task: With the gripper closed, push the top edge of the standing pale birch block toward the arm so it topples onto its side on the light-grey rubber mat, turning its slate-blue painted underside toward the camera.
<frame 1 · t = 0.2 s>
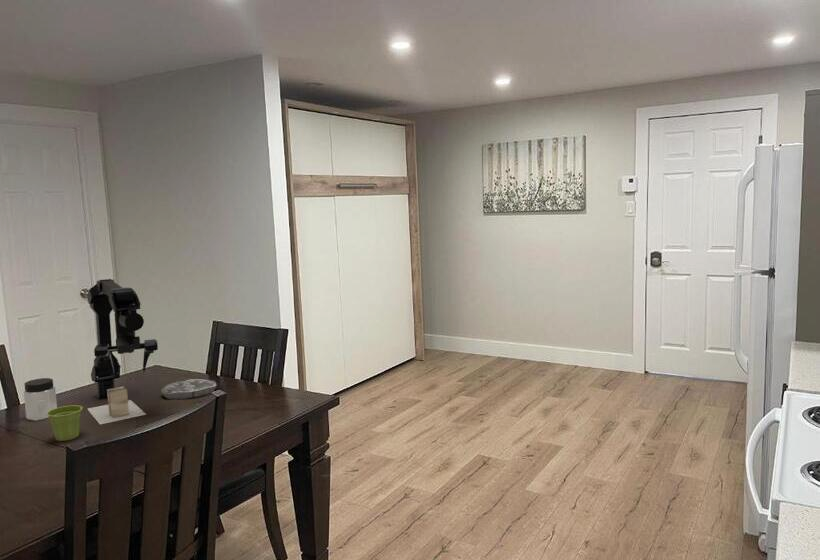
hand: (128, 373, 201), 14 cm above the table, fingers open, 9 cm apart
plant pot: (67, 438, 183), on the table
birch block: (119, 414, 202), resting on grey mat
brain slice: (188, 394, 226), on the table
jar: (42, 416, 203), on the table
grey mat: (116, 412, 205), on the table
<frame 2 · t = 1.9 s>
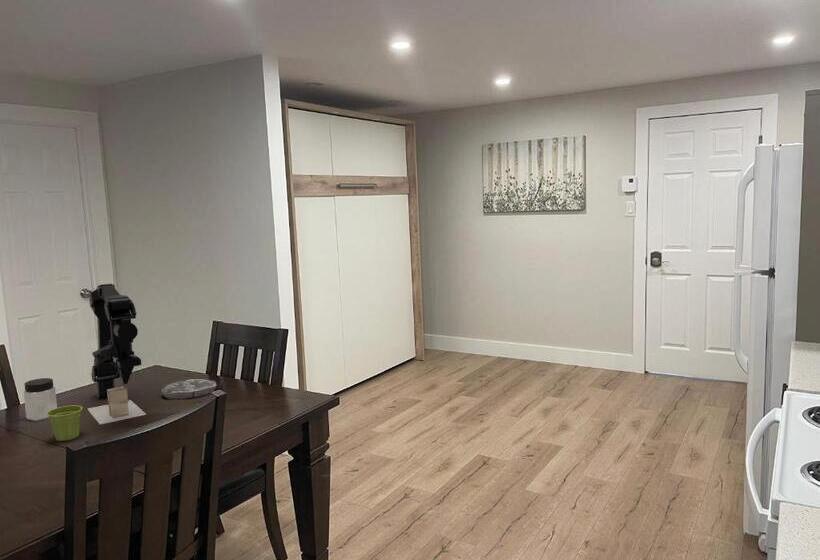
hand: (125, 383, 196), 12 cm above the table, fingers closed
nothing on the table moved.
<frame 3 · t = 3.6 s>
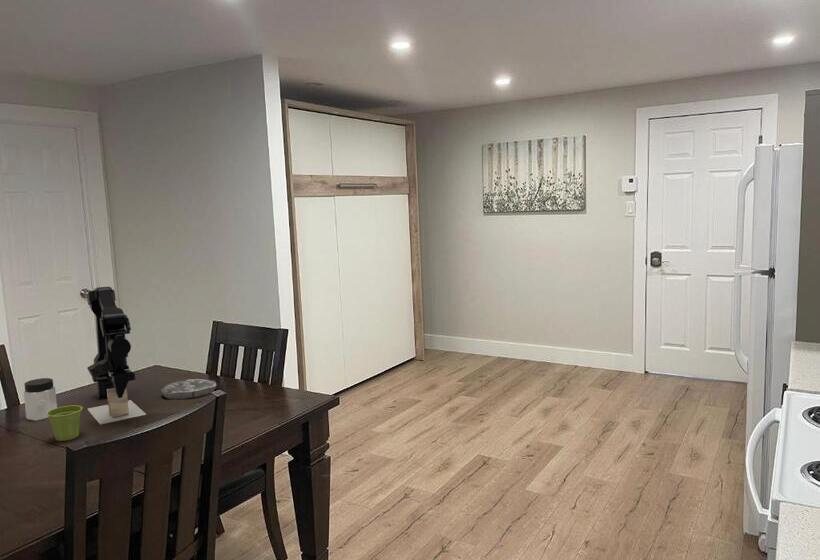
hand: (120, 397, 199), 7 cm above the table, fingers closed
birch block: (119, 414, 202), point 1 cm above the table, touching grey mat, gripper
everything else where it was.
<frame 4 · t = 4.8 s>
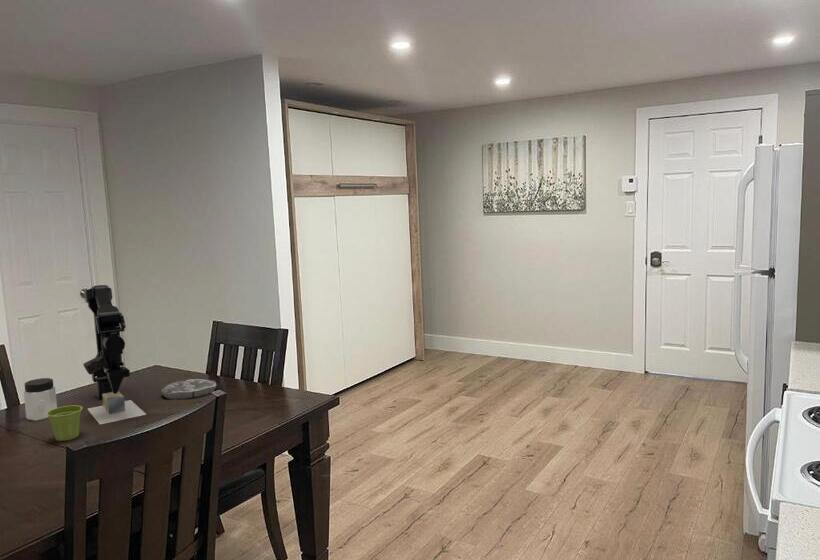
hand: (115, 393, 204), 7 cm above the table, fingers closed
birch block: (116, 405, 204), point 3 cm above the table, tilted 90°, touching grey mat
everything else where it was.
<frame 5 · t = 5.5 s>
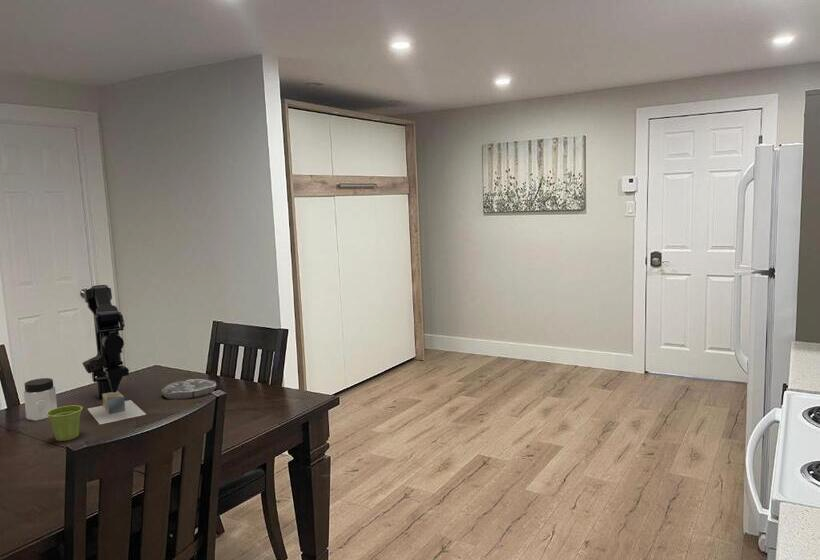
hand: (114, 392, 205), 7 cm above the table, fingers closed
nothing on the table moved.
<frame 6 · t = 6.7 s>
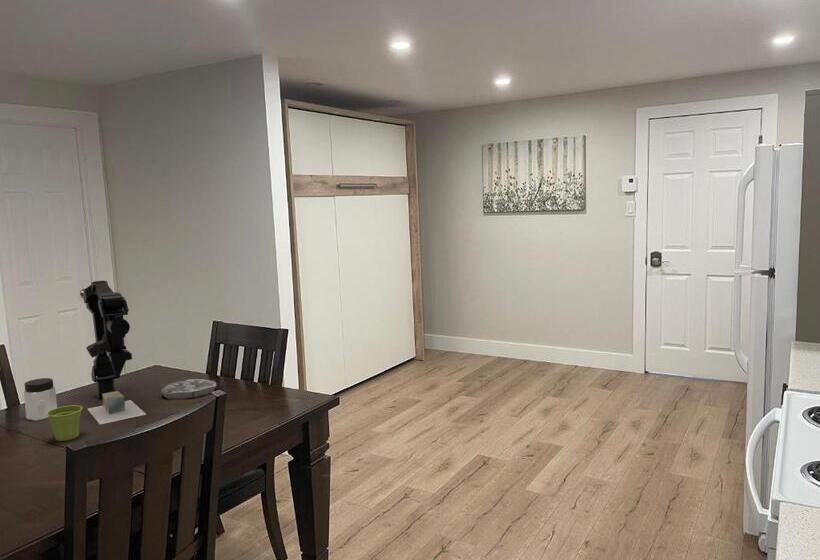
hand: (117, 376, 206), 12 cm above the table, fingers closed
nothing on the table moved.
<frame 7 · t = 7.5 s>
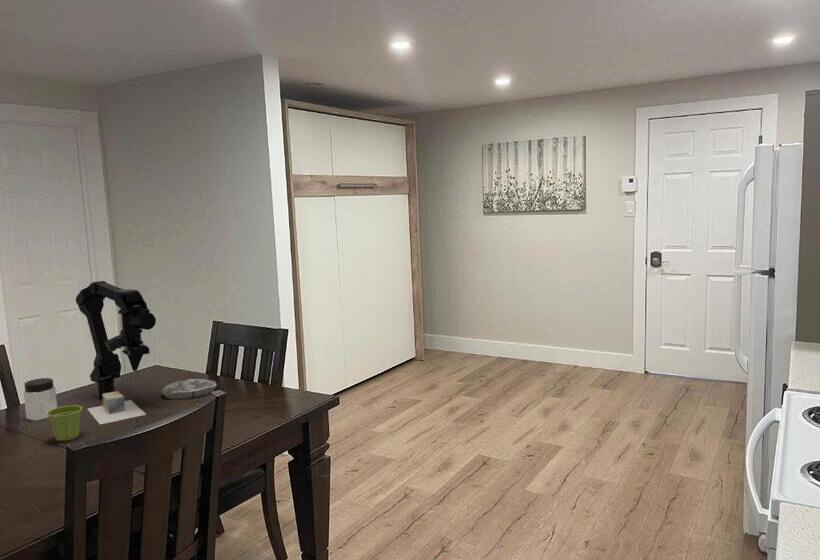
hand: (134, 370, 213), 12 cm above the table, fingers closed
nothing on the table moved.
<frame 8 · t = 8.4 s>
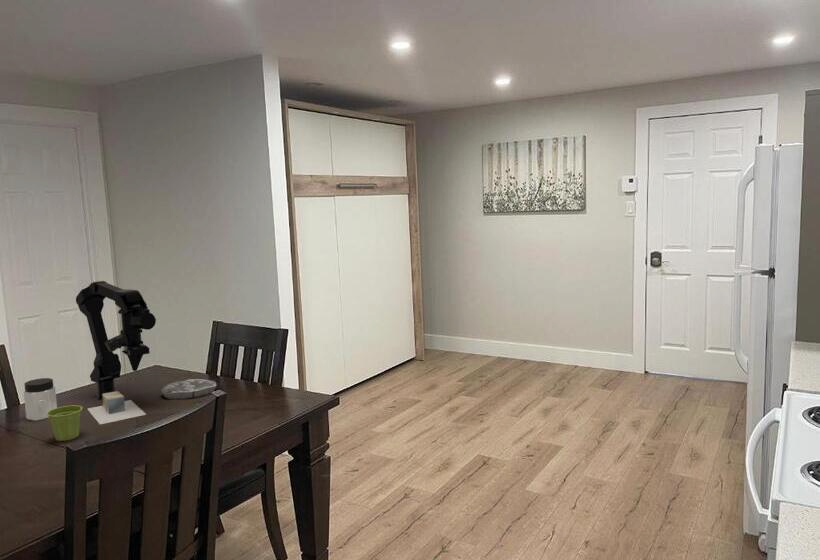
hand: (134, 370, 213), 12 cm above the table, fingers closed
nothing on the table moved.
at the end: birch block tilted 90°; birch block inside the target area (1.5 cm from its centre), point 2.9 cm above the table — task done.
